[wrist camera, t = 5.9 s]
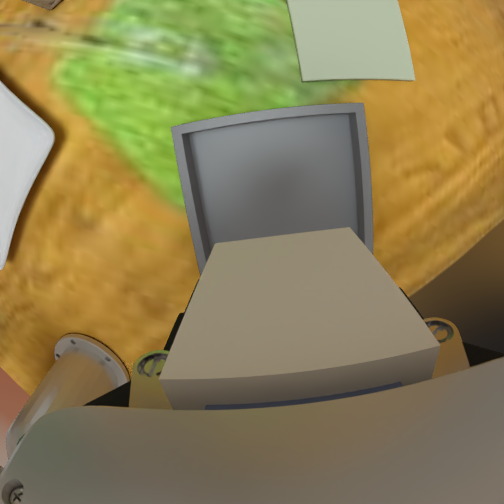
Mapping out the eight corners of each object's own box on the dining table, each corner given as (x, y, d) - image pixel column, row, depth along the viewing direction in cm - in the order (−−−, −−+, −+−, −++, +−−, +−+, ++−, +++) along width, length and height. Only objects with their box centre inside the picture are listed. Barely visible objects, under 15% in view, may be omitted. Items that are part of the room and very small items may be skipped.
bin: (364, 265, 31) (372, 278, 28) (211, 283, 32) (205, 298, 29) (353, 105, 25) (363, 102, 22) (180, 127, 26) (170, 126, 24)
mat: (411, 81, 23) (415, 80, 23) (301, 82, 24) (302, 80, 24) (389, -14, 19) (392, -17, 19) (282, -17, 20) (282, -21, 20)
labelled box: (350, 336, 13) (395, 477, 6) (237, 349, 13) (219, 497, 7) (349, 227, 11) (443, 350, 4) (215, 243, 11) (156, 384, 5)
